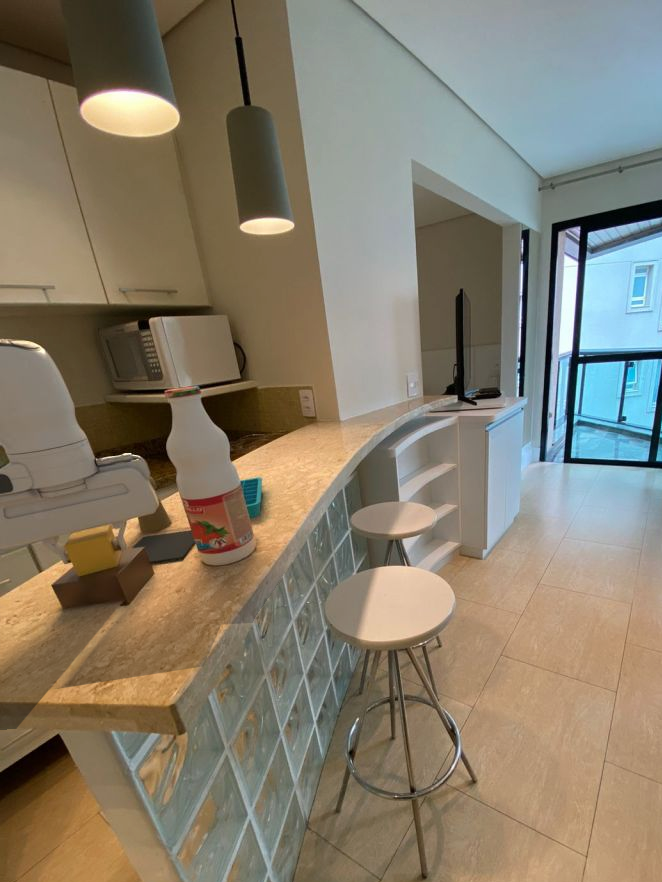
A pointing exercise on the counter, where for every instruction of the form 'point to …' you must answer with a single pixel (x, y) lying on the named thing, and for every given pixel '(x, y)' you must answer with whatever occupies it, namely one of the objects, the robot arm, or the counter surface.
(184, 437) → the fruit juice
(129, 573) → the walnut block
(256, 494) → the ice cube tray
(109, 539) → the mustard cube
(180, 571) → the counter surface
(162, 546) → the coaster
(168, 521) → the cork
